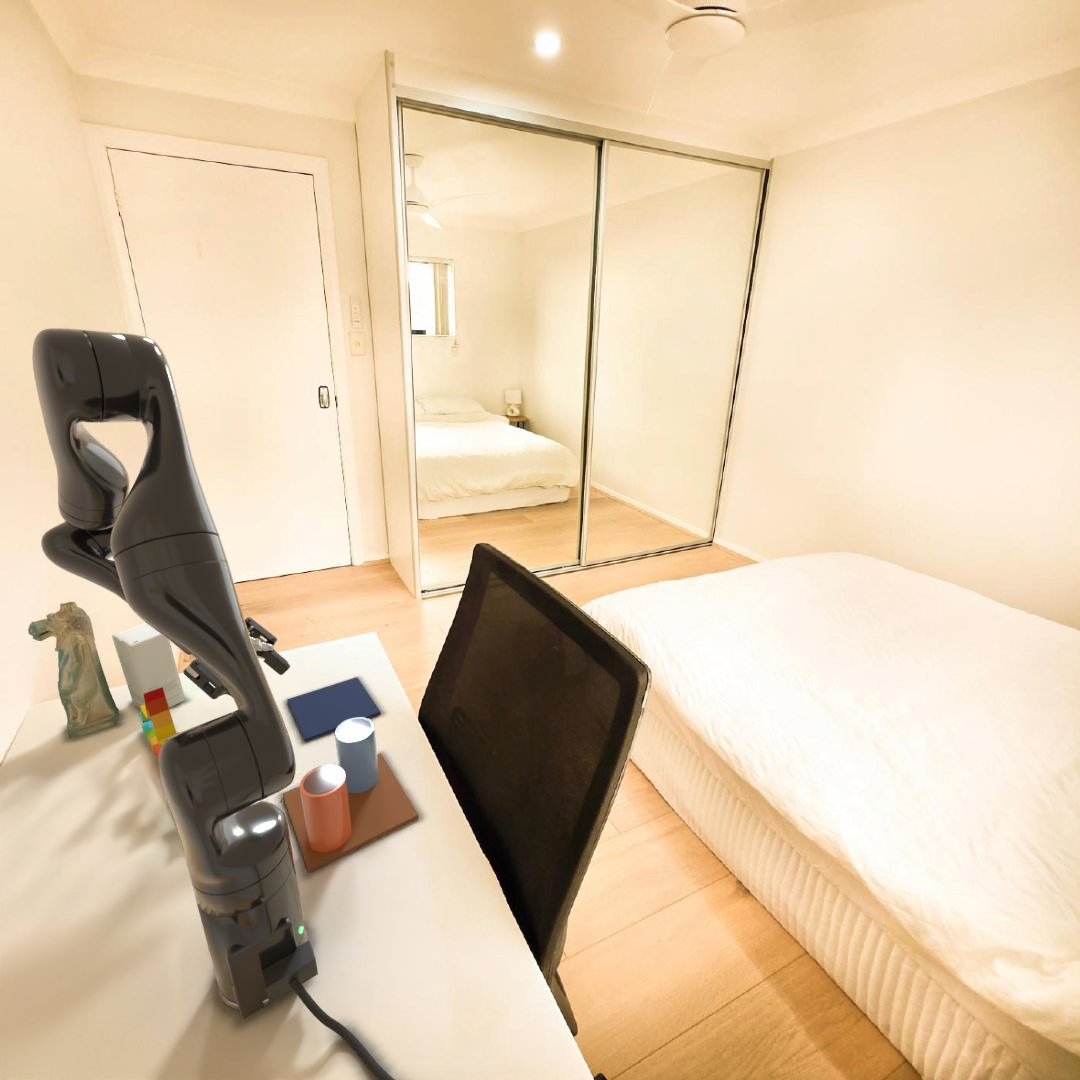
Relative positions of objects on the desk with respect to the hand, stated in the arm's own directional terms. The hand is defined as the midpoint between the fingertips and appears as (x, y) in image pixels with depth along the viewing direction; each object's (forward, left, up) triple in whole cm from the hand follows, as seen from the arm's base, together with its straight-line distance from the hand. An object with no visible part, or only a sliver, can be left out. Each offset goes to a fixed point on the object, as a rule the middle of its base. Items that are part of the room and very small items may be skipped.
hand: (271, 686), depth 82 cm
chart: (+11, +14, -18) cm, 26 cm away
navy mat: (+14, -12, -18) cm, 26 cm away
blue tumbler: (-8, -10, -17) cm, 21 cm away
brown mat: (-12, -7, -18) cm, 22 cm away
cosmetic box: (+35, +16, -18) cm, 43 cm away
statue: (+33, +26, -18) cm, 46 cm away
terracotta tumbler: (-16, -3, -17) cm, 23 cm away
